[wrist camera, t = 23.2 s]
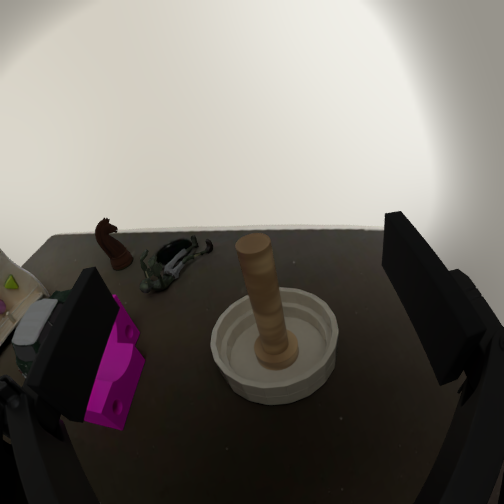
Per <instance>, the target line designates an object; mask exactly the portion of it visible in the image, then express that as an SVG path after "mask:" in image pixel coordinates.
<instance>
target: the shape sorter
mask: <svg viewBox="0 0 504 504" xmlns="http://www.w3.org/2000/svg"><path fill="white" fill-rule="evenodd" d="M49 297H50V295H49V293H48V292H47V290H46V289H45V287H44V286H43V285H42V284H41V282H40V281H39V280H38V279H37V278H36V277H35V276H34V275H33V274H31V273H30V272H28V271H27V270H25V269H23V268H21V267H20V266H18V265H17V264H15V263H14V262H13V261H11V260H10V259H9V258H8V257H7V256H6V255H5V254H4V253H3V251H2V250H1V249H0V346H1V345H2V343H3V342H4V341H5V339H6V338H7V337H8V336H9V334H10V333H11V332H12V331H13V329H14V328H17V326H18V324H19V322H20V321H21V319H22V318H23V316H24V315H25V313H26V311H27V310H28V308H29V307H30V305H31V304H33V303H34V302H36V301H38V300H40V299H45V298H49Z"/></svg>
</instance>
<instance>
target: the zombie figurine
mask: <svg viewBox="0 0 504 504" xmlns="http://www.w3.org/2000/svg"><path fill="white" fill-rule="evenodd" d="M191 240H192V243H193V245H192V246H191V247H189V248H187V249H186V250H185V249H184V250H182V251H180V252H179V253H178V254H177V255H176V256H175V257H174V258H173V259H172V260H171V261H170V262H169V263H168V264H167V265H166V266H165V269H164V274H163V279H162V277H161V275H160V273H161V271H162V270H163V269H162V266H161V265H162V264H160V262H159V263H158V264H156V265H155V266H154V264H155V262H156V259H157V257H156V255H153V256H152V257H151V258H150V259H149V261H148V263H149V266H150V268H151V270H152V271H150V269H149V268H148V270H146V269H147V266H146V264H145V263H144V262H143V260H144V259H145V257H146V256H147V253H148V250H147V249H146V250H145V251H144V252H143V253H142V255H141V259H140V262H141V268H142V269H143V270H144V273H145V276H146V279H145V280H143V281H142V283H140V290H141V291H142V292H143V293H149V292H150V291H151V289H152V290H158V291H160V290H164V289H166V288H167V287H168V286H169V284H170V283H171V282H172V281H173V280H174V279H177V278H179V272H180V270H181V268H182V267H183V266H184V264H185V263H186V262H187V261H188V260H190V259H194V257H196V256H199V255H203V254H204V253H209V252H210V251H212V250H213V245H212V242H211V241H210V240H209V239H206V244H207V248H206V250H205V251H202V252H200V253H196V254H193V255H190V256H186V255H187V253H188V252H189V251H190V250H191V249H192V248H194V247H198V243H197V240H196V237H195V236H193V235H192V237H191ZM185 256H186V257H185ZM183 257H184V258H183ZM181 258H183V261H181V262H180V263H179V265H178V266H176V267H175V268H174V269H173V266H174V264H175V263H176V262H177V260H179V259H181ZM159 264H160V265H159ZM158 265H159V266H158ZM157 266H158V267H157ZM149 272H150V273H149ZM152 272H153V273H152ZM148 273H149V274H148ZM151 273H152V274H151ZM153 274H154V276H157V277H158V278H159V279H158V280H157V281H154V282H153V280H150V276H152V275H153Z"/></svg>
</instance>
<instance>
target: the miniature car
mask: <svg viewBox="0 0 504 504" xmlns="http://www.w3.org/2000/svg"><path fill="white" fill-rule="evenodd" d="M71 290H72V289H71ZM71 290H66V291H62V292H60V291H55V292H54V293H53V294H52V296H51V297H50V298H46V299H40V300H38V301H36V302H34V303H33V304H31V305H30V307H29V308H28V310H27V311H26V313H25V315H24V316H23V318H22V319H21V321H20V323H19V324H18V326H17V328H16V331H15V333H14V336H13V338H12V345H13V348H14V351H15V354H16V363H17V365H18V367H19V368H18V369H19V371H20V372H21V374H22V373H23V374H22V375H23V376H24V377H25V378H26V376H27V374H28V372H29V370H30V367H31V365H32V363H33V360H35V359H34V358H35V356H36V354H37V353H38V349H39V347H40V345H41V343H42V341H43V340H44V339H45V337H46V336H47V335H48V334H49V332H50V330H51V328H52V326H53V324H54V322H55V320H56V318H57V316H58V314H59V312H60V310H61V308H62V306H63V304H64V302H65V301H66V299H67V297H68V295H69V293H70V292H71ZM25 375H26V376H25Z"/></svg>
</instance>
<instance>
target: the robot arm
mask: <svg viewBox="0 0 504 504" xmlns="http://www.w3.org/2000/svg"><path fill="white" fill-rule="evenodd" d="M382 266H383V268H384V270H385V272H386V274H387V276H388V277H389V279H390V281H391V283H392V285H393V287H394V289H395V290H396V292H397V294H398V296H399V298H400V300H401V302H402V304H403V306H404V308H405V310H406V312H407V314H408V316H409V318H410V320H411V322H412V324H413V326H414V328H415V330H416V332H417V335H418V337H419V339H420V341H421V343H422V345H423V348H424V350H425V352H426V354H427V357H428V359H429V361H430V363H431V366H432V368H433V370H434V373H435V375H436V378H437V380H438V383H439V385H440V386H441V385H444V384H446V383H449V382H452V381H454V380H456V379H458V378H459V376H460V375H461V373H462V372H463V370H464V372H465V374H466V376H467V378H466V380H465V381H464V382H463V384H462V385H461V387H460V388H459V390H458V392H457V393H459V394H460V392H461V391H462V393H461V396H460V399H459V402H458V405H457V408H456V411H455V414H454V417H453V420H452V422H451V425H450V428H449V430H448V433H447V435H446V438H445V440H444V443H443V445H442V448H441V450H440V452H439V455H438V457H437V459H436V461H435V463H434V465H433V468H432V470H431V472H430V474H429V476H428V478H427V480H426V482H425V484H424V486H423V487H422V489H421V491H420V493H419V495H418V497H417V498H416V500H415V502H414V504H487V503H488V500H489V498H490V495H491V493H492V491H493V488H494V486H495V483H496V480H497V478H498V475H499V472H500V469H501V466H502V463H503V460H504V327H503V326H502V325H501V323H500V322H499V320H498V318H497V317H496V315H495V314H494V312H493V311H492V309H491V308H490V306H489V305H488V303H487V302H486V300H485V299H484V297H482V296H481V293H480V292H479V290H478V289H476V286H475V285H474V283H473V282H472V281H471V279H470V278H469V277H468V276H467V275H466V274H464V273H463V272H461V271H460V270H459V269H455V270H451V271H448V269H447V268H446V267H445V265H444V264H443V263H442V261H441V260H440V259H439V257H438V256H437V255H436V253H435V252H434V251H433V249H432V248H431V247H430V246H429V244H428V243H427V242H426V241H425V239H424V238H423V237H422V236H421V234H420V233H419V232H418V231H417V230H416V228H415V227H414V226H413V225H412V224H411V222H410V221H409V220H408V219H407V218H406V217H405V215H404V214H403V213H402V212H401V211H398V212H392V213H385V225H384V242H383V256H382ZM119 309H120V307H119V305H118V304H117V302H116V301H115V299H114V297H113V296H112V294H111V293H110V291H109V289H108V288H107V286H106V284H105V283H104V281H103V279H102V277H101V276H100V274H99V272H98V270H97V269H96V267H91V268H86V269H83V271H82V272H81V274H80V276H79V278H78V279H77V281H76V283H75V284H74V286H73V288H72V290H71V292H70V293H69V295H68V297H67V299H66V301H65V302H64V304H63V306H62V308H61V310H60V312H59V314H58V316H57V318H56V320H55V322H54V324H53V326H52V328H51V330H50V332H49V334H48V335H47V336H46V337H45V339H44V340H43V341H42V343H41V345H40V347H39V349H38V353H37V354H36V356H35V358H34V359H35V360H33V363H32V365H31V367H30V370H29V372H28V374H27V377H26V379H25V382H24V384H23V386H22V388H21V387H20V386H19V385H18V384H17V383H16V382H15V381H14V380H13V379H12V378H11V377H10V376H8V375H3V376H1V377H0V504H100V503H99V501H98V499H97V497H96V495H95V493H94V491H93V489H92V487H91V485H90V483H89V481H88V479H87V477H86V475H85V473H84V471H83V469H82V467H81V464H80V462H79V460H78V458H77V455H76V453H75V450H74V448H73V446H72V443H71V440H70V438H69V435H68V433H67V430H66V427H65V424H64V423H63V421H62V420H60V416H61V414H62V415H63V416H65V417H66V418H67V419H69V420H70V421H75V422H81V423H83V421H84V417H85V413H86V410H87V406H88V402H89V399H90V395H91V392H92V389H93V385H94V382H95V379H96V375H97V372H98V369H99V366H100V363H101V360H102V357H103V354H104V351H105V348H106V345H107V342H108V339H109V336H110V334H111V331H112V328H113V325H114V323H115V320H116V317H117V315H118V312H119ZM3 434H4V435H5V436H7V437H8V438H10V439H11V444H8V443H7V442H5V441H4V440H3ZM498 504H504V473H503V479H502V485H501V491H500V496H499V500H498Z"/></svg>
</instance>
